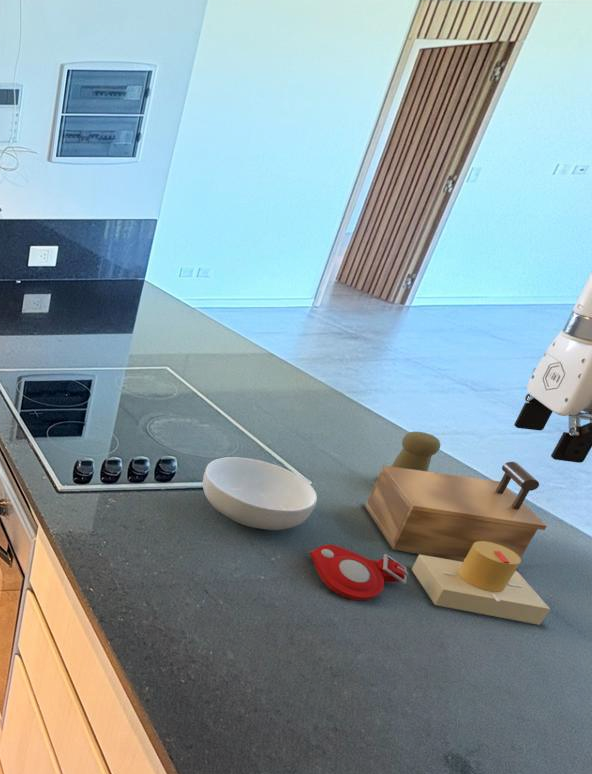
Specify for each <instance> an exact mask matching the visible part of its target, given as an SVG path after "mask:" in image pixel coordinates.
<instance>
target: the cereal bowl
mask: <svg viewBox="0 0 592 774" xmlns="http://www.w3.org/2000/svg"><path fill="white" fill-rule="evenodd" d="M202 477H203V478H202V489H203V492H204V493H203V494H204V495H205V497H206V499H207V500H208V502H209V503H210V504H211V506H212V507H213V508H215V509H216V510H217V511H218V512H219V513H221V514H222V515H224V516H225V517H226V518H229V519H231V521H234V522H235V523H238V524H240V525H242V526H246V527H249V528H255V529H261V530H266V531H267V530H269V531H278V530H280V531H281V530H286V529H291V528H294V527H297V526H299V525H300V524H303V523H304V522H305V521H306V520H307V519H308V518H309V517H310V516H311V514H312V513H313V511H314V509H315V507H316V504H317V502H318V496H317V492H316V490H315V489H314V487H313V486H312V485H311V484H310V483H309V482H308V481H306V479H304V478H303V477H301V476H300V475H298V474H297V473H296V472H295V473H294V472H293V471H291V470H289V469H287V468H284V467H282V466H280V465H276V464H273V463H271V462H267V461H263V460H259V459H255V458H247V457H238V456H227V457H220V458H216V459H214V460H212V461H210V462H209V463H208V464H207V465H206V468H205V471H204V474H203V476H202Z"/></svg>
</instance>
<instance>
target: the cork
mask: <svg viewBox="0 0 592 774" xmlns="http://www.w3.org/2000/svg"><path fill="white" fill-rule="evenodd" d="M401 445H402V447H403V448H402V449H401V450H400V451H399V453H398V455H397V457H396V458H395V459H394V461H393V463H392V464H391V467H398V468H405V469H412V470H420V471H427V472H429V471H428V470H429V468H430V465H431V460H432V456H434V455H436V453H438V451H440V448H441V442H440V439H438V437H436V436H435V435H433V434H430V433H427V432H424V431H423V432H422V431H410V432H407V433H406V434H405V435H404V436H403V438H402V440H401Z"/></svg>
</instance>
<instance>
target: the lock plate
mask: <svg viewBox="0 0 592 774" xmlns="http://www.w3.org/2000/svg"><path fill="white" fill-rule="evenodd" d="M464 560H465V559H464ZM462 564H463V561H457V560H451V559H445V558H439V557H433V556H428V555H422V554H418V556H417V558H416V559H415V562H414V564H413V566H412V568H411V571H412V573H413V574H414V576H415V577H416V579H417V580H418V582H419V583H420V585H421V586H422V588H423V589H424V591H425V592H426V594H427V595H428V597H429V598H430V600H431V602H432V603H433V604H434V606H437V607H443V608H448V609H454V610H460V611H463V612H464V611H465V612H468V613H469V612H470V613H473V614H474V613H476V614H480V615H486V616H491V617H497V618H500V619H507V620H510V621H516V622H517V621H518V622H521V623H522V622H523V623H526V624H533V625H538V626H541V624H542V622H543V621H544V619H545V618H546V616H547V615H548V613H549V612H550V610H551V608H550V607H549V606H548V604H547V603H546V602H545V601H544V599H542V597H541V596H540V595H539V594H538V593H537V592H536V591H535V589H533V587H532V586H531V585H530V583H528V582H527V581H526V579H525V578H524V577H523V576H522V575H521V574H520V572H518V571H517V570H516V571H515V572H514V574H513V576H512V577H511V579H510V581H509V582H508V584H507V586H506V587H505V589H504V590H503V591H500V592H492V591H487V590H483V589H480V588H478V587H475V586H473V585H471V584H470V583H468V582H466V581H465V580H464V579H463V578H461V576H460V575H459V569H460V567H461V566H462Z"/></svg>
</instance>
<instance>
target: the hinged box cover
mask: <svg viewBox="0 0 592 774" xmlns="http://www.w3.org/2000/svg"><path fill="white" fill-rule="evenodd" d="M391 466H392V465H391ZM391 466H390V465H382V467H381V470H382V471H383V472H384V473H385V475H386V476H387V477H388V479H389V480H390V481H391V483H392V484H393V485H394V487H395V488H396V489H397V491H398V492H399V493H400V494H401V496H402V497H403V498H404V500H405V501H406V502H407V504H408V505H409V506H410V508H411V509H412V510H417V511H423V512H430V513H436V514H443V515H449V516H456V517H462V518H469V519H475V520H482V521H488V522H495V523H501V524H508V525H514V526H521V527H528V528H534V529H537V530H542V531H545V530H546V528H547V527H548V525H546V524H545V522H544V521H542V519H540V518H539V516H537V515H536V514H535V513H534V512H533V511H532V510H531V509H530V508H529V507H528V506H527V505H526V504H525V503H524V502H525V500H526V497H527V496H528V494H529V492H532V491H536V490H537V489H538V488H539V486H540V482H539V481H538V480H537V479H536V478H535V477H533V476H532V475H531V474H530V473H529V472H528V471H527V470H525V468H523V467H522V466H521V465H520V464H518V462H515V461H507V462H505V463H503V465H502V466H501V470H502V471H503V472H504V474H503V476H502V477H501V480H500V481H498V480H490V479H486V478H485V479H484V478H478V477H471V476H469V477H468V476H463V475H456V474H448V473H441V472H434V471H428V472H427V471H420V470H412V469H405V468H398V467H391ZM511 480H513V482H515V484H517V485H518V486H519V487H520V490H519V491H518V493H517V495H515V494H514V493H513V492H512V491H511V490H510V489H509V488H508V485H509V483H510V481H511Z"/></svg>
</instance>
